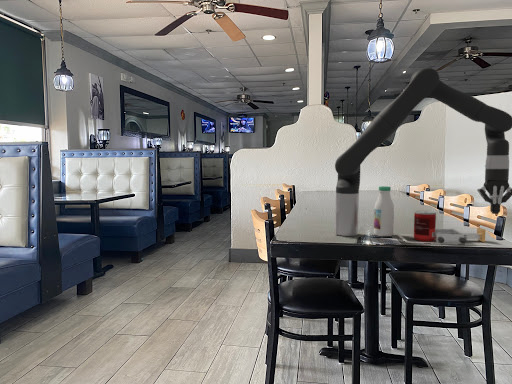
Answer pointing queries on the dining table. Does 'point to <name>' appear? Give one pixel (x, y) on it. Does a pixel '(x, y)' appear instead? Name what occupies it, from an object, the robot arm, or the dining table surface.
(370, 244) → the dining table surface
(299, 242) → the dining table surface
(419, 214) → the canned food
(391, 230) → the milk bottle
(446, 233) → the trolley
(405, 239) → the track
